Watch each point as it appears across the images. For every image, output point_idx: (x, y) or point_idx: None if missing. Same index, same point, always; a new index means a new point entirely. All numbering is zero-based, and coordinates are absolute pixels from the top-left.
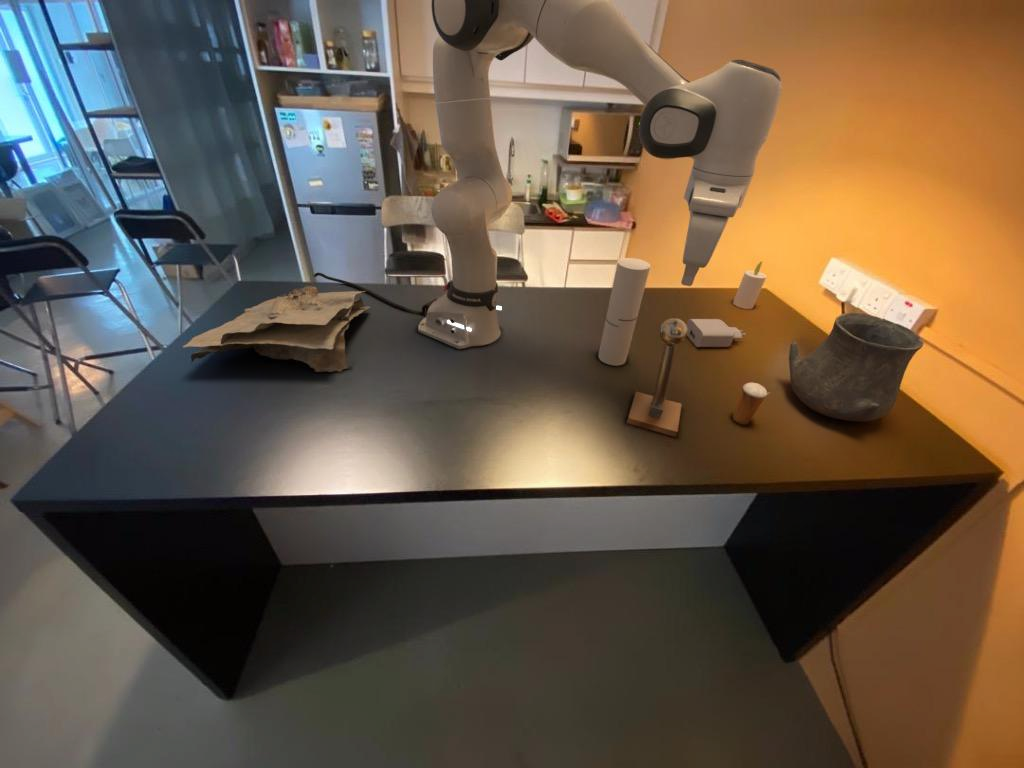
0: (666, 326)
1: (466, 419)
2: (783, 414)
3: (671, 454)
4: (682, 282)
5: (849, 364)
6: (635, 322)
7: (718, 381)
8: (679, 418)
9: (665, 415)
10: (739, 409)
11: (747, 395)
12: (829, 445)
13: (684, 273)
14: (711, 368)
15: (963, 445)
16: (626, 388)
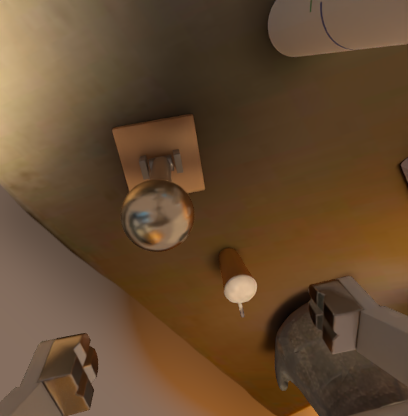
0: (131, 208)
1: None
2: (270, 291)
3: (94, 204)
4: (39, 349)
5: (322, 389)
6: (345, 50)
7: (308, 214)
8: None
9: None
10: (224, 262)
11: (226, 281)
12: (236, 331)
13: (7, 397)
14: (341, 197)
15: (303, 403)
16: (207, 91)
